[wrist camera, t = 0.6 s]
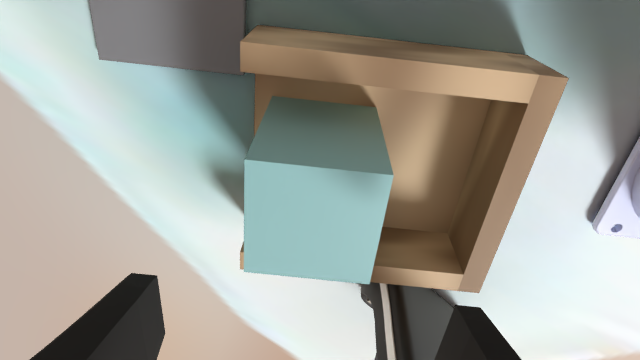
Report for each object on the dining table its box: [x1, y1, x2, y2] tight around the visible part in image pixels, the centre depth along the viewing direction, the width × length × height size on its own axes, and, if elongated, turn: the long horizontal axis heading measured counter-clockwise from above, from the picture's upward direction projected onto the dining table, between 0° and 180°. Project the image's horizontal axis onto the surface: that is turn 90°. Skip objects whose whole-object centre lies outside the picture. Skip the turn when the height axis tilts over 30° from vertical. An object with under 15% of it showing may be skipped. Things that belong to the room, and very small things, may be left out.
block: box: [244, 96, 394, 284], centre depth 16 cm, size 4×4×6 cm
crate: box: [240, 25, 569, 293], centre depth 17 cm, size 11×10×3 cm
